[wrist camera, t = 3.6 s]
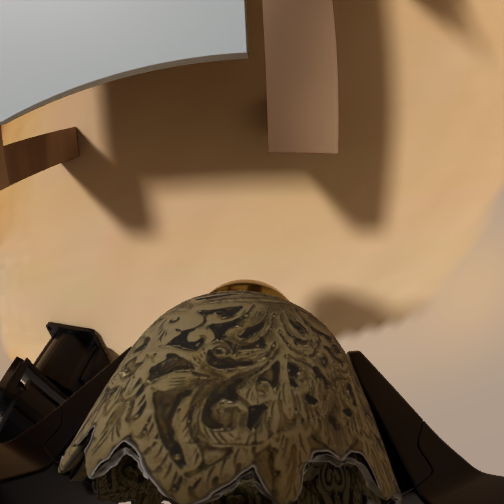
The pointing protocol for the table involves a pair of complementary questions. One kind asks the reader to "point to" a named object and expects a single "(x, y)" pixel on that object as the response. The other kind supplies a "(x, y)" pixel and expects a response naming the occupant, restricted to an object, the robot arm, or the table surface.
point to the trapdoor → (107, 43)
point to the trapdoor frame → (277, 87)
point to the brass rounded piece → (234, 411)
